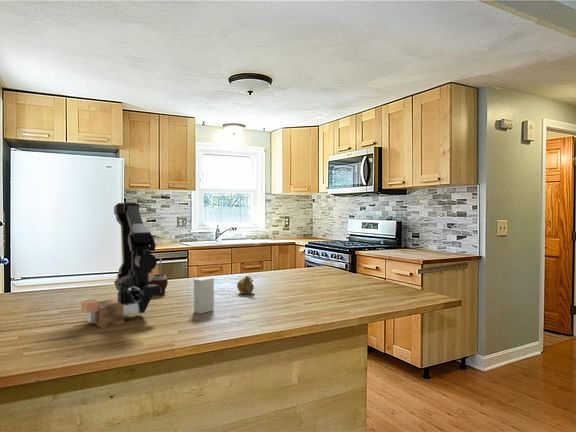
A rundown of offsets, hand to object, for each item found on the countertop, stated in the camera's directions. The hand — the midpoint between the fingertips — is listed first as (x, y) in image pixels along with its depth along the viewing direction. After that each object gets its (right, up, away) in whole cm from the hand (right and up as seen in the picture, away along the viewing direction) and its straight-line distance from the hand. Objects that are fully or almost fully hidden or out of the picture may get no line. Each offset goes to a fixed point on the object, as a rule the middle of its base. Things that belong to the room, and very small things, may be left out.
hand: (140, 311), depth 141 cm
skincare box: (+21, -2, +6) cm, 22 cm away
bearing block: (-8, -2, -9) cm, 12 cm away
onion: (+33, -1, +36) cm, 49 cm away
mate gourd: (-4, -1, +34) cm, 34 cm away
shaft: (-6, 0, -6) cm, 8 cm away
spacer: (-11, +3, -13) cm, 17 cm away
